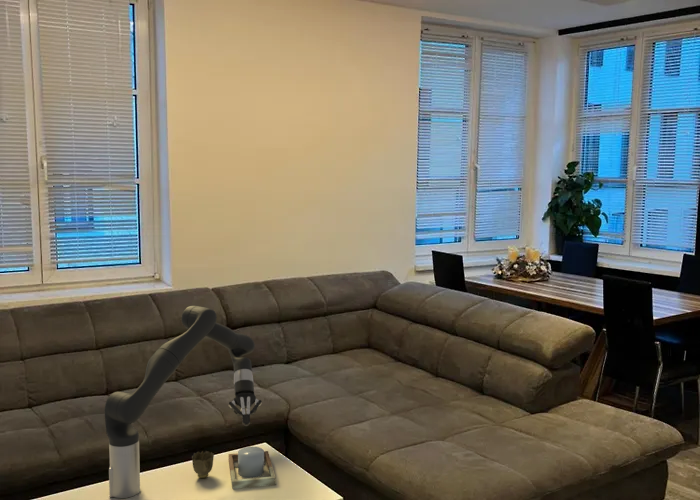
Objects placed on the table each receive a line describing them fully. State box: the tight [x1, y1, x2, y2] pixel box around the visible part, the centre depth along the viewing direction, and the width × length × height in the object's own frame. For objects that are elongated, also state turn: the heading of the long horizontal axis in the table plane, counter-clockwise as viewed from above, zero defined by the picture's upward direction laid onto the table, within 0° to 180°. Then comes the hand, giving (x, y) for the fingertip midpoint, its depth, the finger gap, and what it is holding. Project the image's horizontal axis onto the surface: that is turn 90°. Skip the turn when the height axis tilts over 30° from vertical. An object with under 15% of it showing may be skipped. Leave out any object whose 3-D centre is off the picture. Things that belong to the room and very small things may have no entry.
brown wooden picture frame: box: [228, 450, 277, 490], centre depth 237 cm, size 14×23×2 cm, turn 13°
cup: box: [191, 450, 215, 480], centre depth 232 cm, size 8×7×8 cm
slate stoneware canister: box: [237, 446, 265, 479], centre depth 236 cm, size 9×9×8 cm
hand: (246, 425), depth 251 cm, fingers closed
